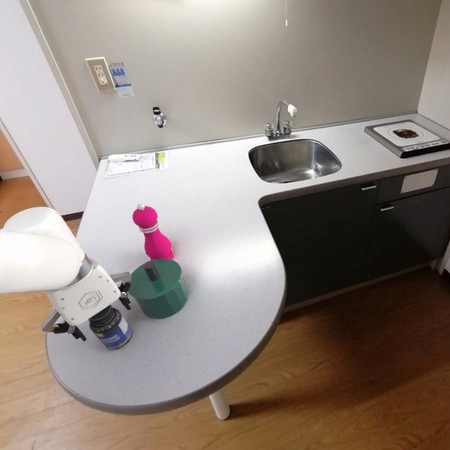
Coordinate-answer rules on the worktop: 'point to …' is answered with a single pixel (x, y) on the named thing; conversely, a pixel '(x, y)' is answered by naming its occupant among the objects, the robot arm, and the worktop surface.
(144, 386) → the worktop surface
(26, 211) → the robot arm
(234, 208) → the worktop surface
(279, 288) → the worktop surface
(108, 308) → the pill bottle
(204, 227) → the worktop surface
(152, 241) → the pepper mill
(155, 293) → the pot lid
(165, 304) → the pot
